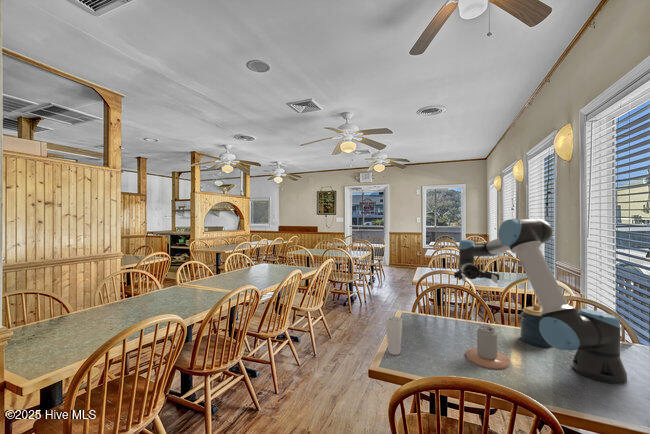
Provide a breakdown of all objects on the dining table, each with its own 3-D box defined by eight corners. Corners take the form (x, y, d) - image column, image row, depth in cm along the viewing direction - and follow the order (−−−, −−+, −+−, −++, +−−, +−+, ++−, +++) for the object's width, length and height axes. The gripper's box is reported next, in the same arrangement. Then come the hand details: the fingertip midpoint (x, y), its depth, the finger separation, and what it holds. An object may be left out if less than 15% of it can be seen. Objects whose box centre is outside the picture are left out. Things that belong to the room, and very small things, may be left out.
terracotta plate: (519, 364, 118) (519, 362, 118) (489, 372, 112) (489, 369, 112) (485, 347, 133) (485, 345, 133) (457, 353, 127) (457, 351, 127)
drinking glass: (389, 347, 134) (389, 315, 134) (404, 351, 130) (403, 317, 130) (384, 354, 128) (384, 319, 128) (399, 357, 124) (399, 322, 124)
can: (501, 361, 119) (501, 331, 119) (482, 361, 119) (482, 331, 119) (491, 352, 126) (491, 324, 126) (473, 352, 126) (473, 324, 126)
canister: (561, 348, 131) (560, 309, 131) (530, 347, 133) (529, 308, 133) (542, 336, 144) (542, 300, 144) (514, 335, 146) (514, 300, 146)
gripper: (496, 278, 155) (510, 289, 134) (445, 276, 161) (451, 286, 140) (496, 264, 154) (510, 272, 134) (445, 263, 161) (451, 270, 140)
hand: (480, 279), depth 137 cm, fingers open, 13 cm apart
